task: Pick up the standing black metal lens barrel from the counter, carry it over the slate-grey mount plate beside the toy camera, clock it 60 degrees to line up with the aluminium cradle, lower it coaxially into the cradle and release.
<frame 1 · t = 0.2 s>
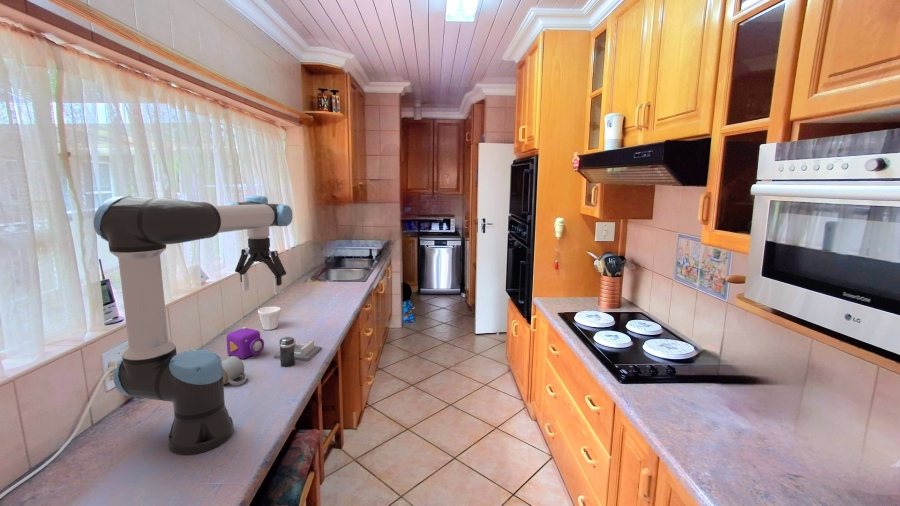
hand: (261, 292, 156), 27 cm above the countertop, fingers open, 13 cm apart
toy camera: (247, 355, 163), on the countertop
lens: (287, 364, 156), on the countertop
mount: (298, 353, 166), on the countertop
cup: (270, 328, 193), on the countertop
ceramic mug: (231, 381, 142), on the countertop
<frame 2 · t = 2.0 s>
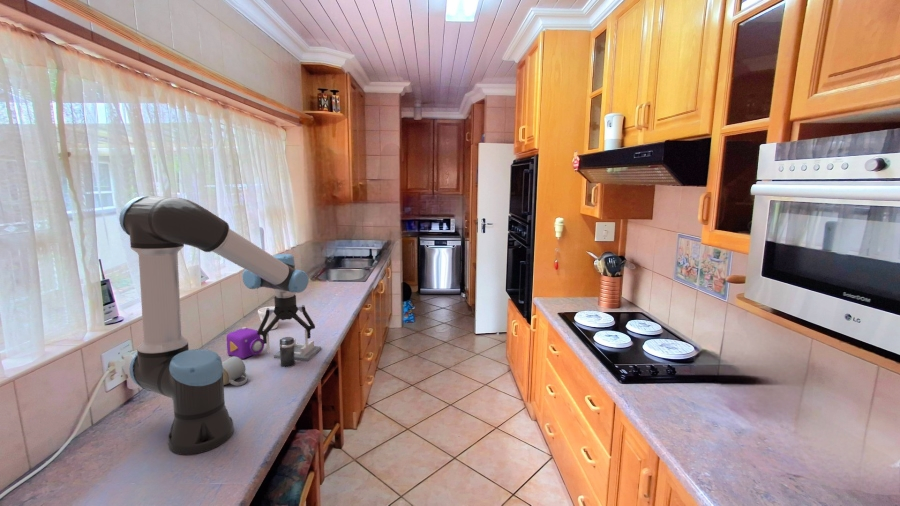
hand: (287, 348, 155), 6 cm above the countertop, fingers open, 13 cm apart
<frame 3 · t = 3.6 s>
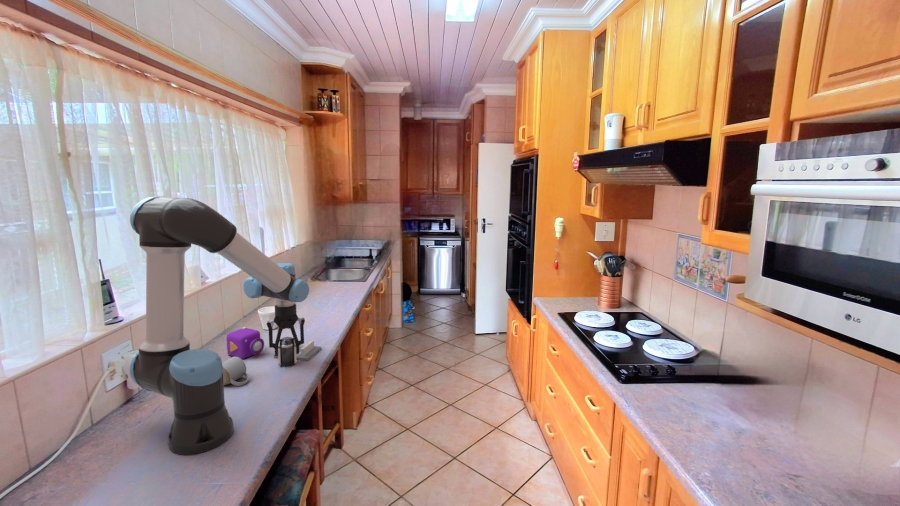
hand: (287, 362, 156), 1 cm above the countertop, fingers closed on lens, 5 cm apart
lens: (287, 364, 156), on the countertop, touching gripper
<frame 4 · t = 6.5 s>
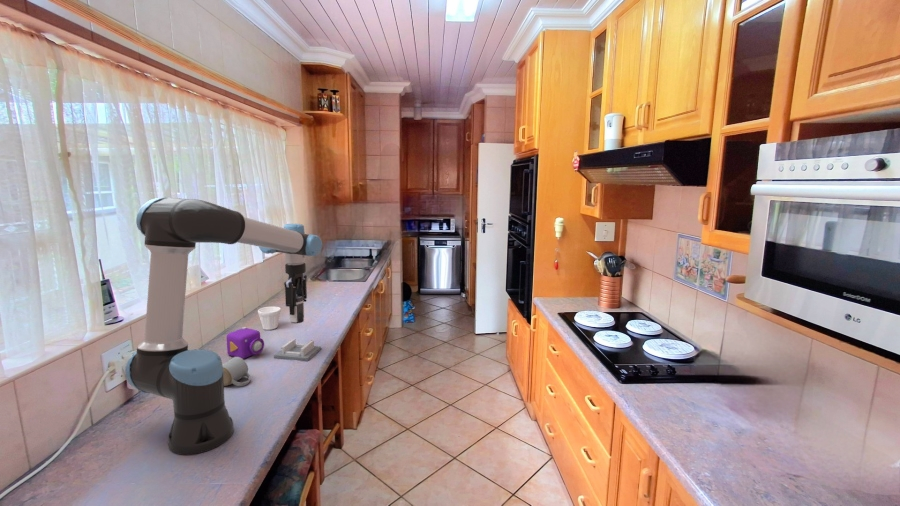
hand: (297, 319, 163), 15 cm above the countertop, fingers closed on lens, 5 cm apart
lens: (297, 321, 164), point 14 cm above the countertop, touching gripper
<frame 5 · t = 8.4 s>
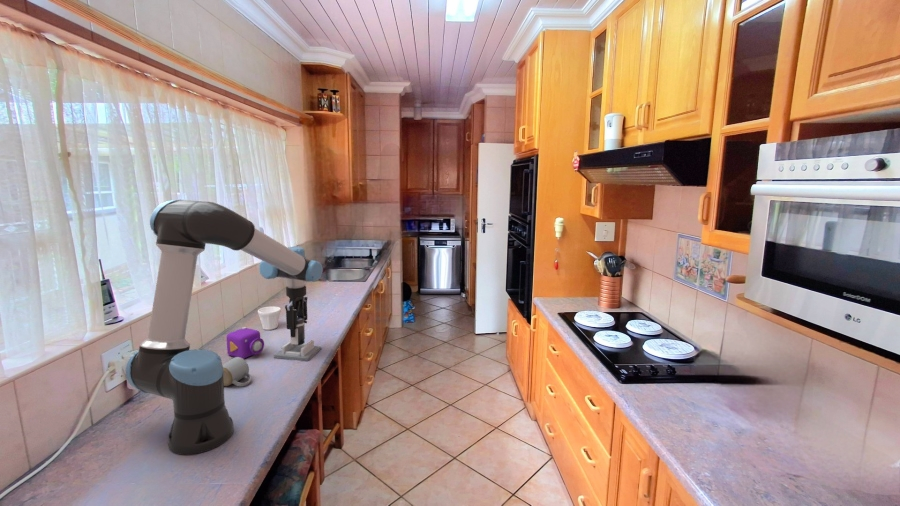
hand: (298, 341, 165), 5 cm above the countertop, fingers closed on lens, 5 cm apart
lens: (298, 342, 165), point 5 cm above the countertop, touching gripper
when the fingers open (3 cm above the countertop, at t = 9.6 s): lens drops 1 cm, resting on mount.
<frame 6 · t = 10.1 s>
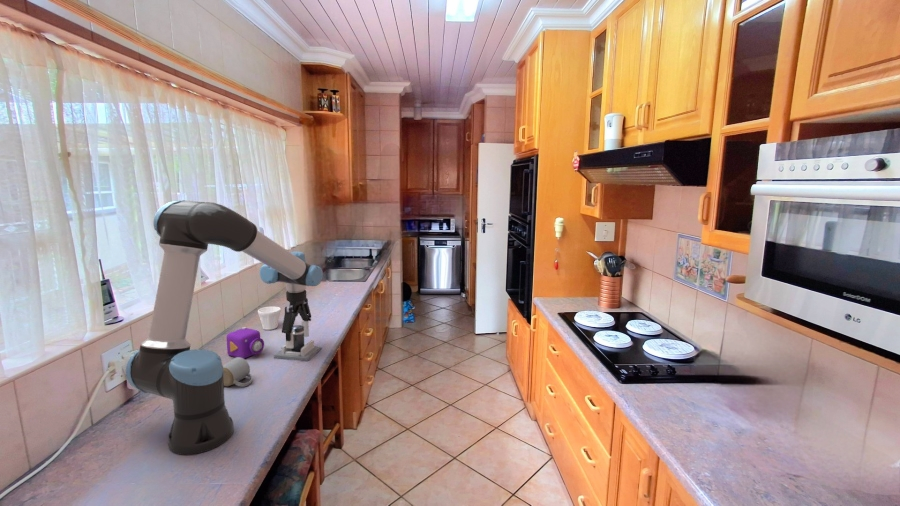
hand: (297, 341, 165), 5 cm above the countertop, fingers open, 12 cm apart
lens: (298, 350, 166), point 1 cm above the countertop, touching mount
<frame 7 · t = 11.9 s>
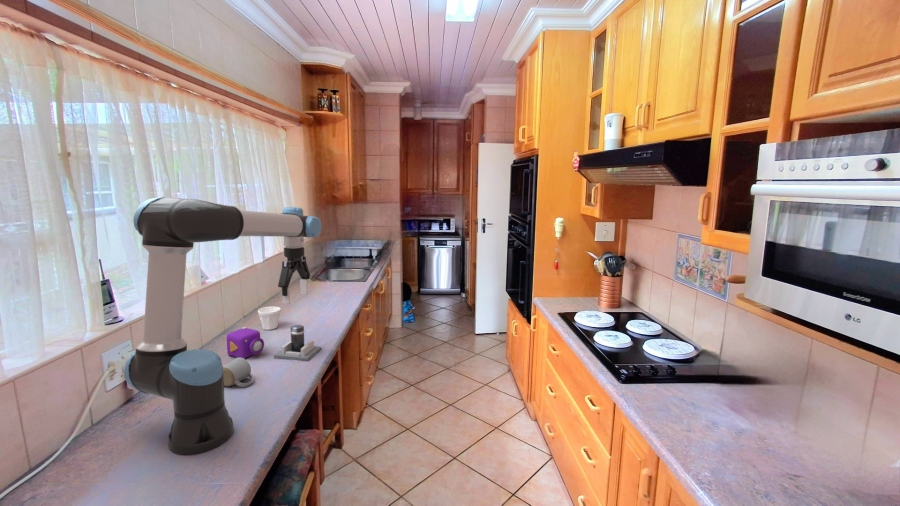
hand: (295, 299, 163), 23 cm above the countertop, fingers open, 13 cm apart
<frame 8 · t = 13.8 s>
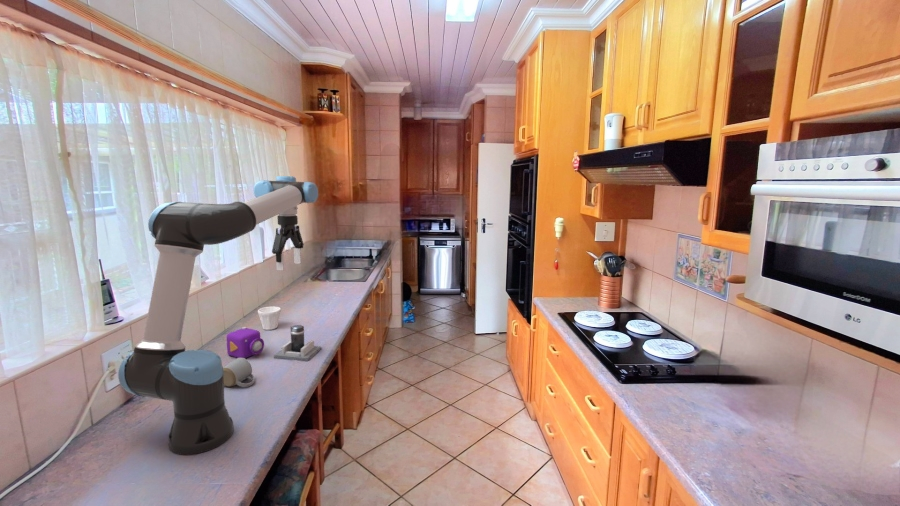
hand: (289, 266, 167), 35 cm above the countertop, fingers open, 13 cm apart
at the end: lens 0.1 cm off-centre on the mount, point 1.2 cm above the mount's base; lens tilted 0°; the gripper is holding nothing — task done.
